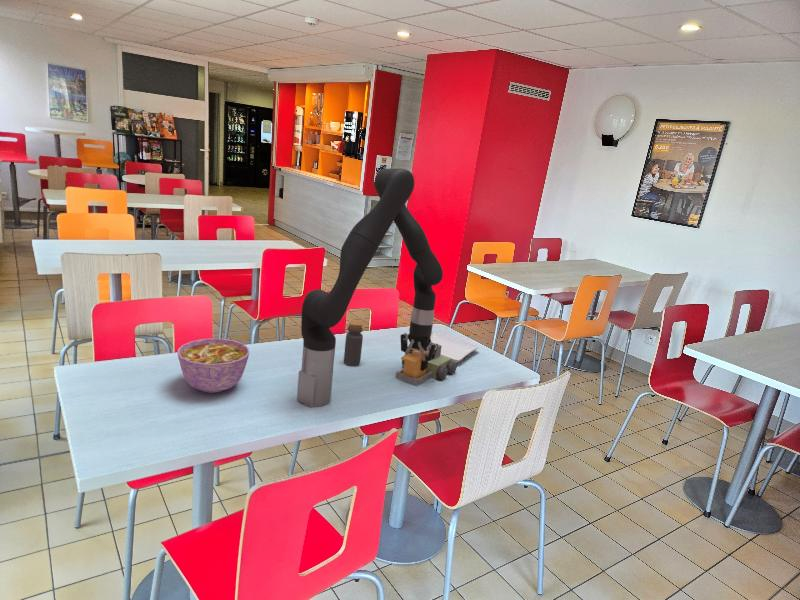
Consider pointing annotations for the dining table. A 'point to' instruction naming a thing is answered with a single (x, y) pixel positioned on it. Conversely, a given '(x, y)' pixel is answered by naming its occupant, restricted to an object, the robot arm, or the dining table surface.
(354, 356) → the bottle
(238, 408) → the dining table surface
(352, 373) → the dining table surface
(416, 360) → the orange box
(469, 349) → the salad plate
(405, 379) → the green boxy vehicle
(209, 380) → the bowl of food
